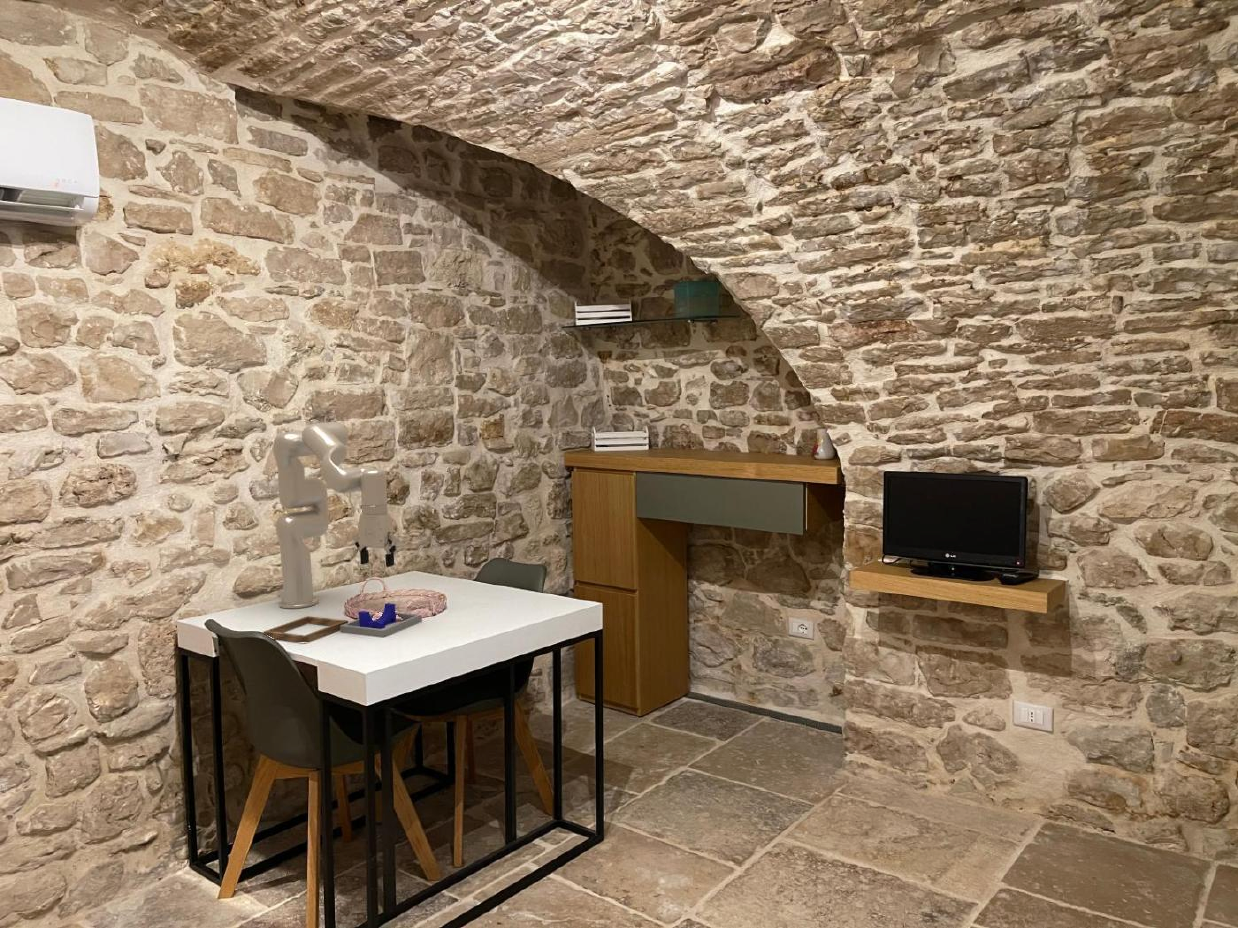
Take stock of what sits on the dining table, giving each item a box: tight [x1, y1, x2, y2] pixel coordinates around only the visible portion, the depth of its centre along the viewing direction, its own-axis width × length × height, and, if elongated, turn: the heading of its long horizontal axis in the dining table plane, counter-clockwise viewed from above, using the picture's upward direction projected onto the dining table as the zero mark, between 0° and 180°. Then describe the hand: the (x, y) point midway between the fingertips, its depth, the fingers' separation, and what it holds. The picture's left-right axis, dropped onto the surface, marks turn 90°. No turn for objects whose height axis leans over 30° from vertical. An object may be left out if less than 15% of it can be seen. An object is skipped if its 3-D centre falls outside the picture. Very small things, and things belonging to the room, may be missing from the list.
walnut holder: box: [262, 615, 349, 643], centre depth 289 cm, size 16×18×2 cm
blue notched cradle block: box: [358, 602, 397, 629], centre depth 293 cm, size 12×4×6 cm, turn 147°
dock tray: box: [340, 610, 423, 638], centre depth 293 cm, size 16×18×2 cm
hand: (377, 564), depth 292 cm, fingers open, 9 cm apart
